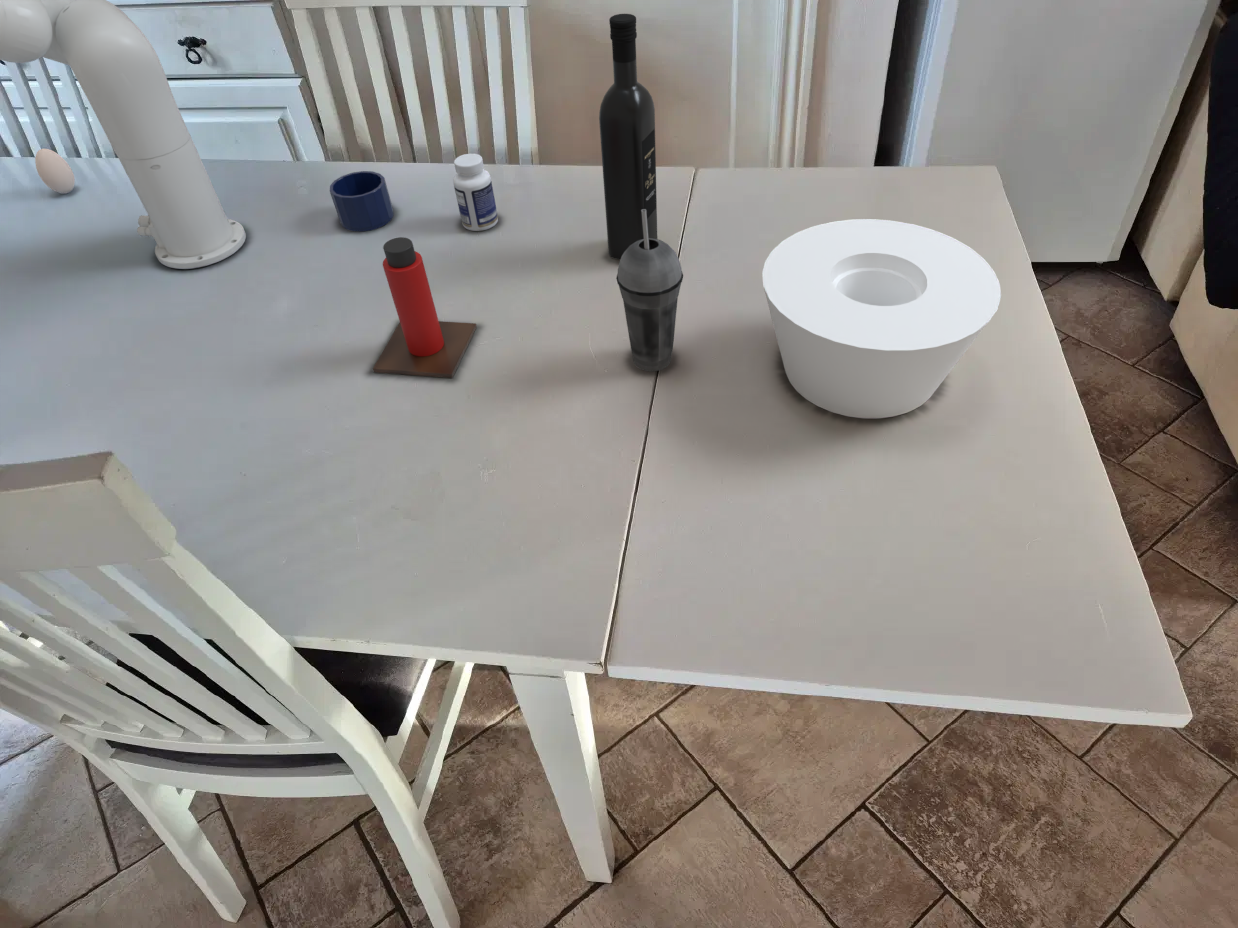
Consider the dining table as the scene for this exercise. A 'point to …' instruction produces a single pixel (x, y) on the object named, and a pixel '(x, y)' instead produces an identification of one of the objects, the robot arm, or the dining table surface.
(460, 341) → the coaster
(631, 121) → the wine bottle
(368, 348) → the dining table surface
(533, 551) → the dining table surface
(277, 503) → the dining table surface
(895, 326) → the recessed white cone
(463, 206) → the pill bottle
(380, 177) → the blue cup
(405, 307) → the sauce bottle
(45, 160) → the egg
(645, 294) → the beverage cup
